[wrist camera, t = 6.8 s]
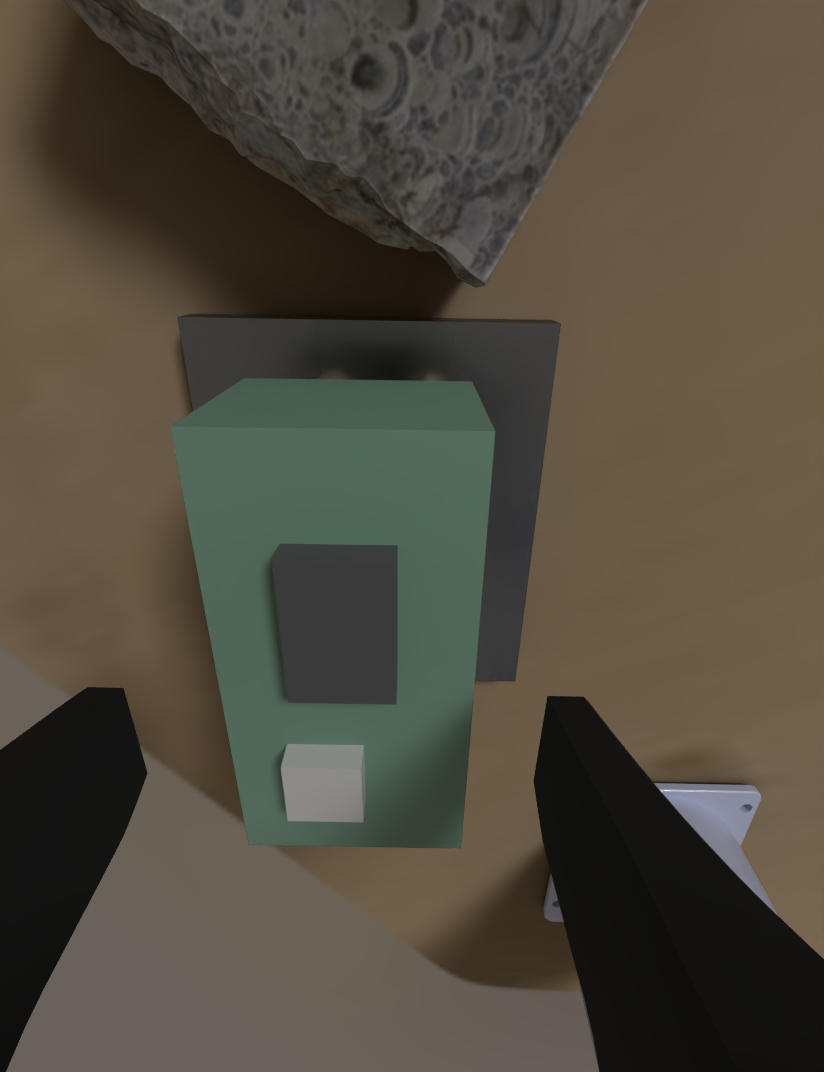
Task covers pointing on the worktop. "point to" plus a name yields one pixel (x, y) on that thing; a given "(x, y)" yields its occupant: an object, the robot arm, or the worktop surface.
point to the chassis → (418, 355)
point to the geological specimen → (387, 101)
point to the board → (343, 599)
